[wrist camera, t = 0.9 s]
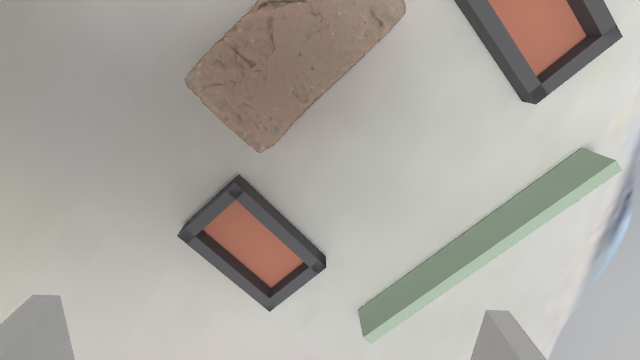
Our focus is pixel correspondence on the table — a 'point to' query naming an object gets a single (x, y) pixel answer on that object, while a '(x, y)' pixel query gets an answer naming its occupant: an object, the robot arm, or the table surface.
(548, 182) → the sage end wall
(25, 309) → the robot arm
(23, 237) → the table surface
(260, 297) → the trap pits
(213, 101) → the brick
